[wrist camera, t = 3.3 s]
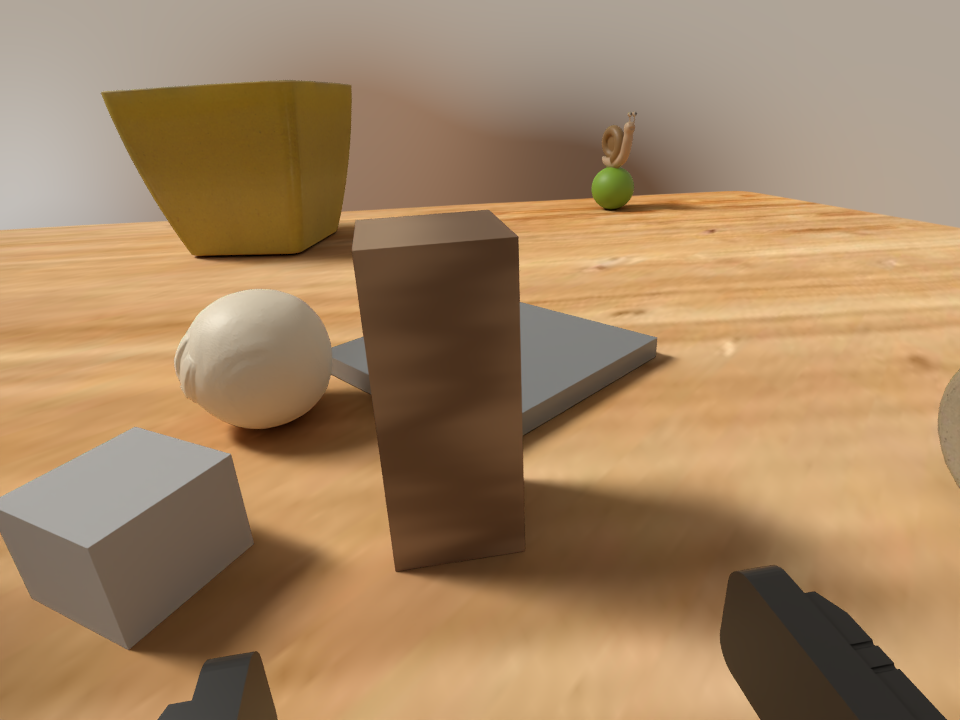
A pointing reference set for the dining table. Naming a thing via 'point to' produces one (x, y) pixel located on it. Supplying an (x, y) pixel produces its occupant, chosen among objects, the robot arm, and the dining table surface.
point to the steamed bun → (255, 359)
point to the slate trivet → (544, 361)
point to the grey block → (126, 531)
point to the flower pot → (241, 160)
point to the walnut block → (445, 381)
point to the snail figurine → (615, 168)
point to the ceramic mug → (951, 426)
